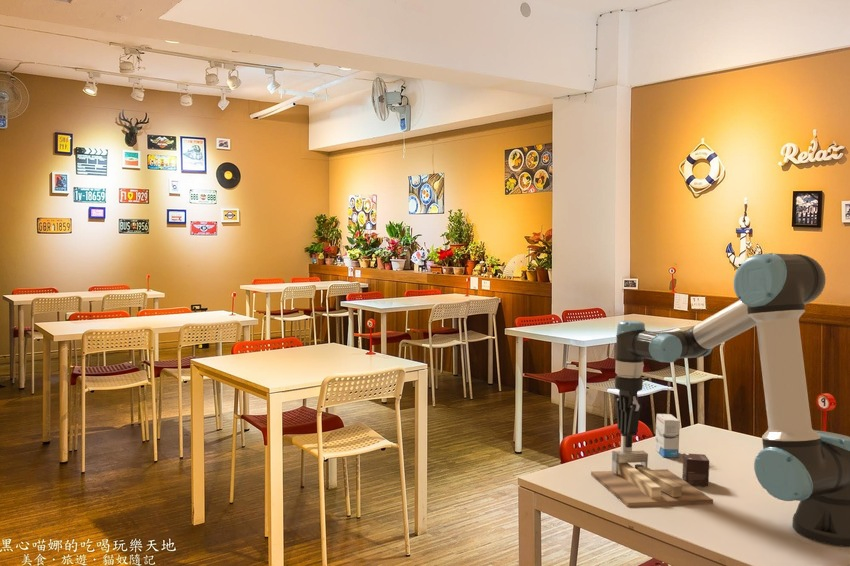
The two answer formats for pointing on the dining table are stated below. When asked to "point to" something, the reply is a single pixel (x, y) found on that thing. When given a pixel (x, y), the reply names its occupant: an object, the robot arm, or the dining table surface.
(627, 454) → the lock collar
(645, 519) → the dining table surface
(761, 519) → the dining table surface
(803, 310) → the robot arm
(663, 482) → the bar
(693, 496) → the walnut board
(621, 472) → the fixed tong arm
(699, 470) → the box
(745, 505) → the dining table surface
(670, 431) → the ink box
